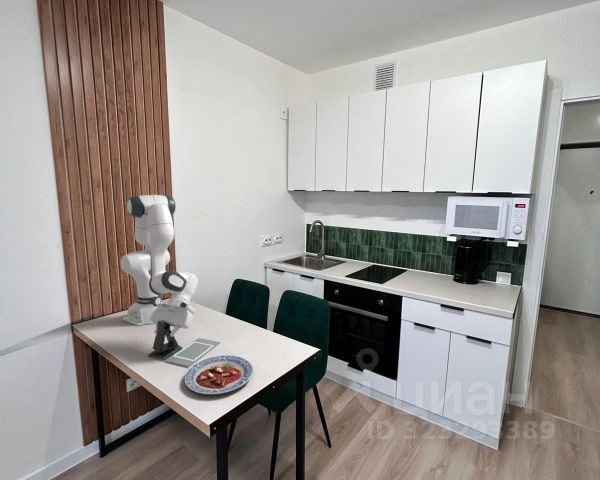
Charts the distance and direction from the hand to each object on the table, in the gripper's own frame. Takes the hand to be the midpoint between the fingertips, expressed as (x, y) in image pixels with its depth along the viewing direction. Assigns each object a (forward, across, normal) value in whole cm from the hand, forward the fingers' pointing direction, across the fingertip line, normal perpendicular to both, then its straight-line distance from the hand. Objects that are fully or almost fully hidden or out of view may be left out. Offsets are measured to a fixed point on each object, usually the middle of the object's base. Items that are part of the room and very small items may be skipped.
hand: (163, 334), depth 144 cm
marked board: (+2, +11, +10) cm, 16 cm away
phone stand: (+4, 0, +5) cm, 7 cm away
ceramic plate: (+11, +33, +2) cm, 35 cm away
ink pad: (+6, 0, +7) cm, 9 cm away
